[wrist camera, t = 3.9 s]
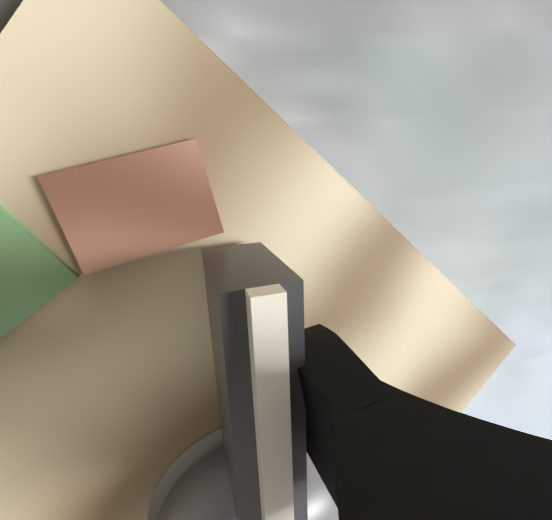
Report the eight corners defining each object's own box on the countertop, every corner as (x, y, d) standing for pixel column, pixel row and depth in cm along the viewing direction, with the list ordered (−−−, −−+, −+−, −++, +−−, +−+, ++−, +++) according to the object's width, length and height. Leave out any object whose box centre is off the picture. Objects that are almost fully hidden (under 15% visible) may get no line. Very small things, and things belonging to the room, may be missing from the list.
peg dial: (334, 540, 13) (387, 662, 10) (171, 602, 11) (172, 774, 8) (339, 232, 9) (426, 270, 6) (101, 260, 8) (54, 329, 4)
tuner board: (493, 333, 14) (520, 347, 13) (215, 680, 15) (218, 720, 14) (89, -49, 7) (75, -86, 6) (-396, 647, 8) (-485, 724, 7)
